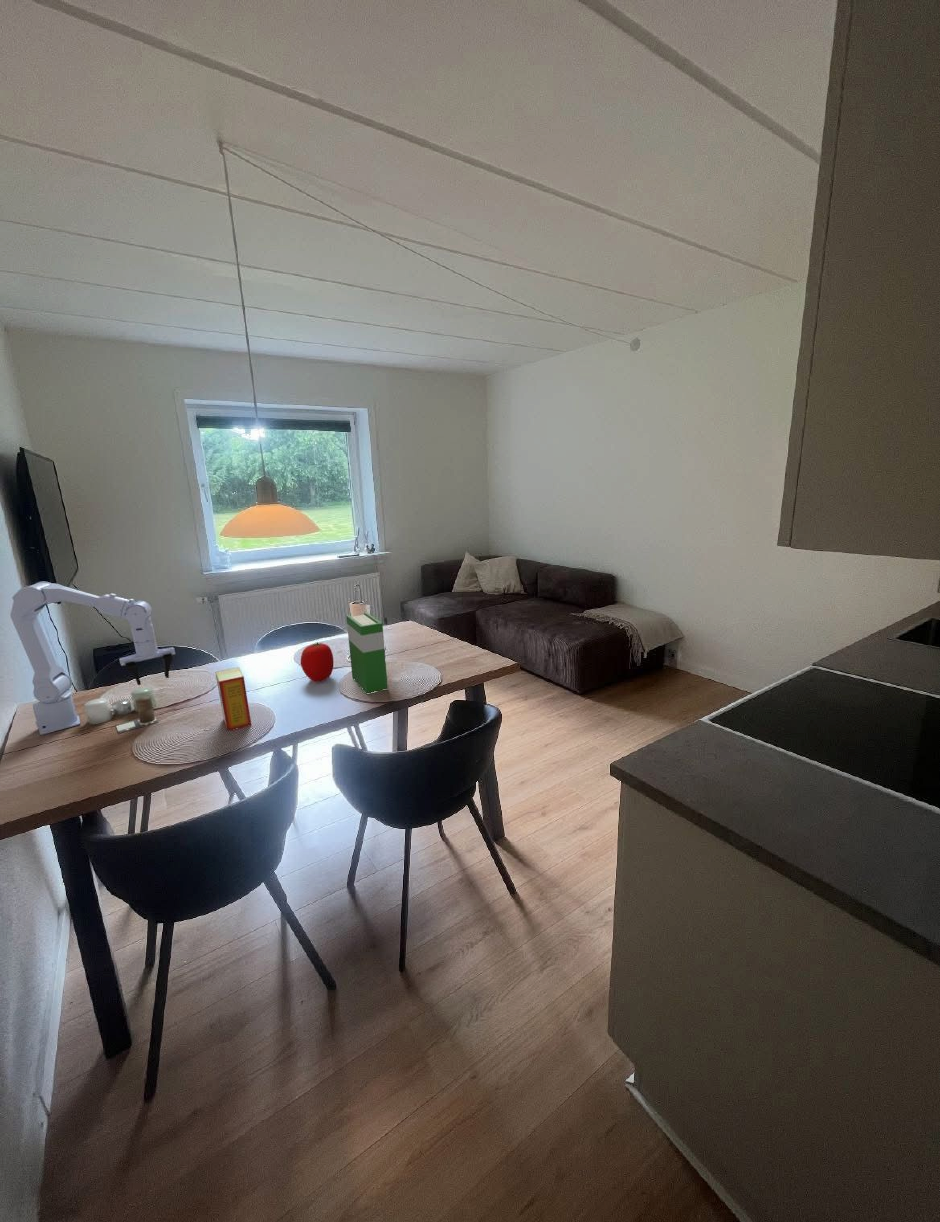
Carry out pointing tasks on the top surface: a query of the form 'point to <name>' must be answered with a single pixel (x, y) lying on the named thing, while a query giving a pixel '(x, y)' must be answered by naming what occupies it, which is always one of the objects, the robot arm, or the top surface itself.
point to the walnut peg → (145, 709)
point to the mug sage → (143, 695)
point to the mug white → (98, 711)
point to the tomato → (317, 662)
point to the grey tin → (122, 707)
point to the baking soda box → (233, 698)
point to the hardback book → (367, 652)
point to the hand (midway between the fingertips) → (153, 680)
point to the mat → (133, 725)
